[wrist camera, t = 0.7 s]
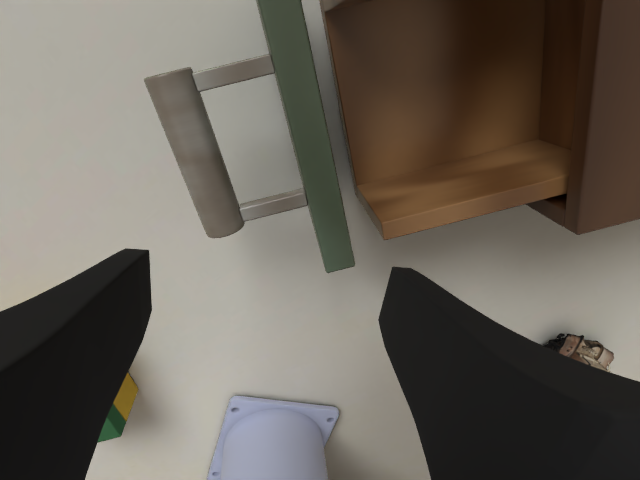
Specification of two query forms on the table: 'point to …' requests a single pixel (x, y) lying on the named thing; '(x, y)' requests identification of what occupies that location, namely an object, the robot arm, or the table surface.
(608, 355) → the airplane wreck
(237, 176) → the table surface
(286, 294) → the table surface
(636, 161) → the cabinet
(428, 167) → the drawer
